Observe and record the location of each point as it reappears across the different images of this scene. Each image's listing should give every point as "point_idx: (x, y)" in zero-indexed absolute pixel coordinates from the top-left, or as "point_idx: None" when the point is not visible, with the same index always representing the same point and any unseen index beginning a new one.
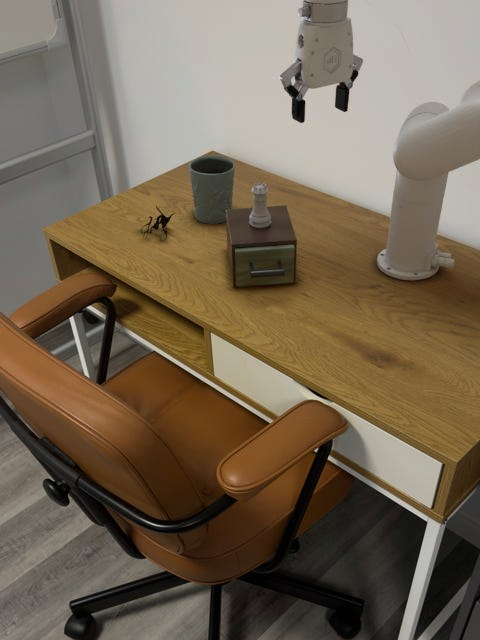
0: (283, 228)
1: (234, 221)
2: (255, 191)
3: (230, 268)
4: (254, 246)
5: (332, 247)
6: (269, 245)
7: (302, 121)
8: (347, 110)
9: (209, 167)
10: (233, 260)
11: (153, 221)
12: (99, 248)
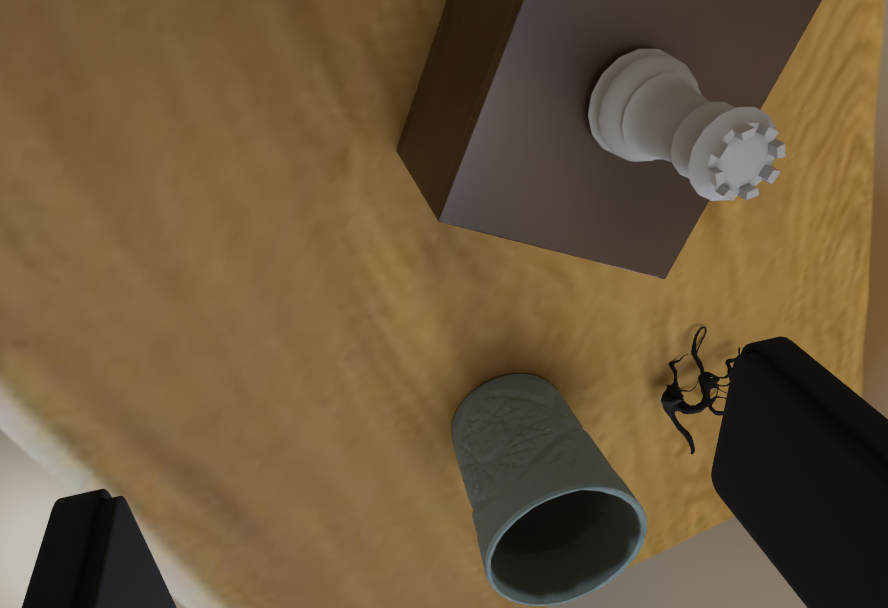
0: (572, 3)
1: None
2: (775, 137)
3: None
4: None
5: (211, 64)
6: None
7: (784, 340)
8: (54, 504)
9: (531, 566)
10: None
11: (723, 391)
12: (838, 344)
